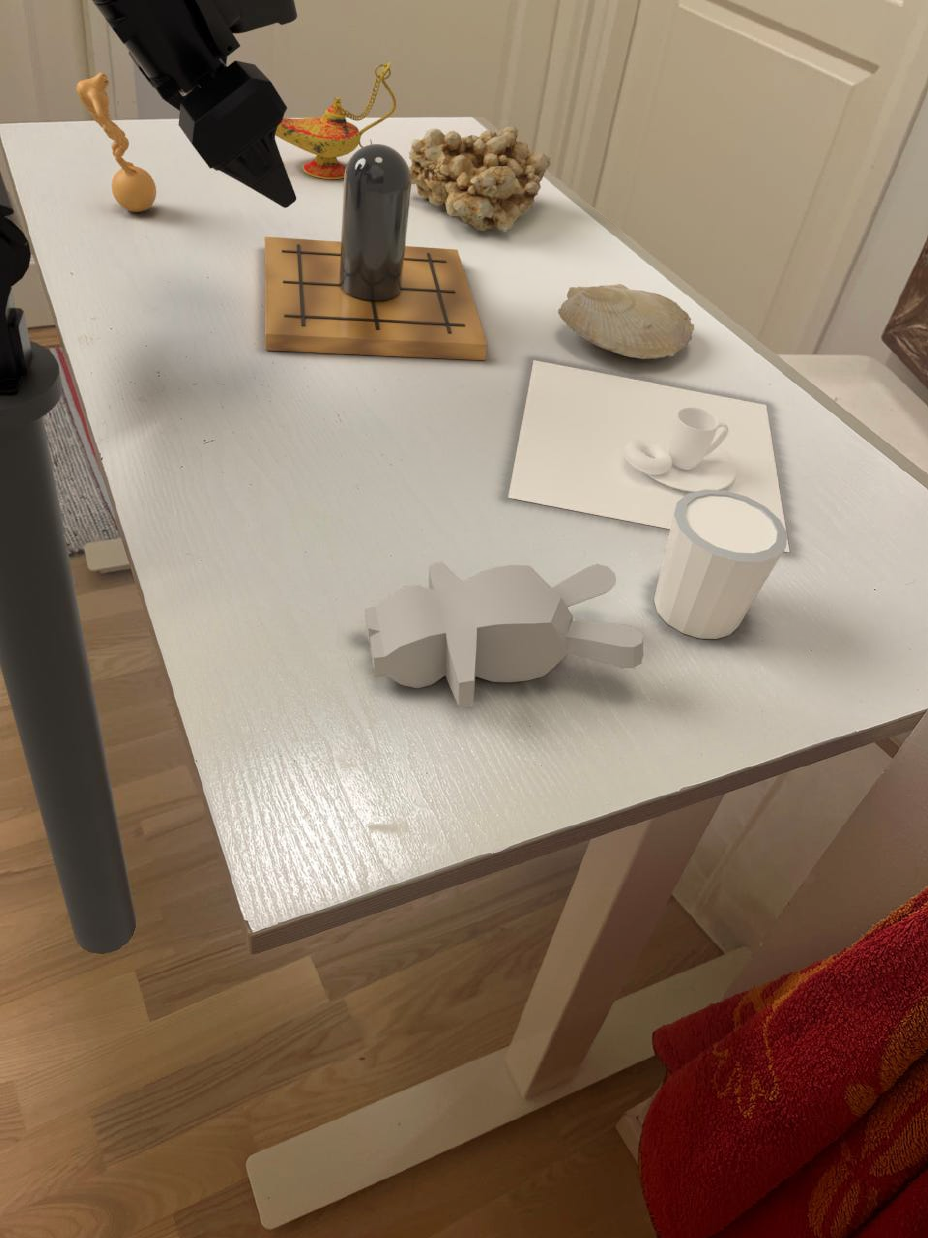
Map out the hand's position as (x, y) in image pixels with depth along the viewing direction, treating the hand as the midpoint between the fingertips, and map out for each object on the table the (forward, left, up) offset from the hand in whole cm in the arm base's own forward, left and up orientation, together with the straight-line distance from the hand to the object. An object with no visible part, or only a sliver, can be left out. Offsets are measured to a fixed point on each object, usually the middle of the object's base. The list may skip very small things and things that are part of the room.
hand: (270, 177), depth 74 cm
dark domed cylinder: (+8, +5, -11) cm, 15 cm away
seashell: (+31, +1, -12) cm, 33 cm away
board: (+9, +5, -12) cm, 16 cm away
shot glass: (+27, -34, -12) cm, 45 cm away
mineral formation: (+23, +27, -12) cm, 38 cm away
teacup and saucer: (+28, -16, -12) cm, 35 cm away
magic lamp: (+5, +35, -12) cm, 38 cm away
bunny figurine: (+12, -38, -12) cm, 41 cm away
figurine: (-14, +21, -12) cm, 28 cm away
